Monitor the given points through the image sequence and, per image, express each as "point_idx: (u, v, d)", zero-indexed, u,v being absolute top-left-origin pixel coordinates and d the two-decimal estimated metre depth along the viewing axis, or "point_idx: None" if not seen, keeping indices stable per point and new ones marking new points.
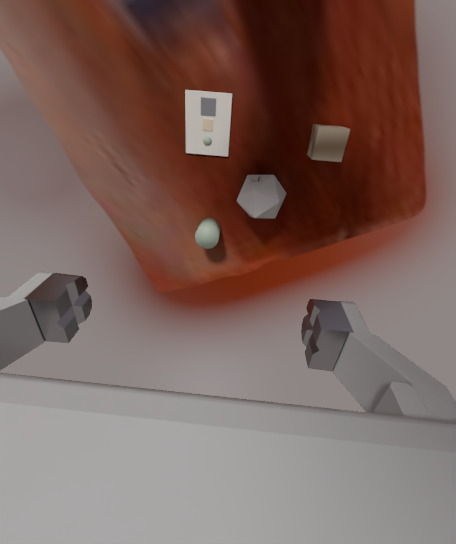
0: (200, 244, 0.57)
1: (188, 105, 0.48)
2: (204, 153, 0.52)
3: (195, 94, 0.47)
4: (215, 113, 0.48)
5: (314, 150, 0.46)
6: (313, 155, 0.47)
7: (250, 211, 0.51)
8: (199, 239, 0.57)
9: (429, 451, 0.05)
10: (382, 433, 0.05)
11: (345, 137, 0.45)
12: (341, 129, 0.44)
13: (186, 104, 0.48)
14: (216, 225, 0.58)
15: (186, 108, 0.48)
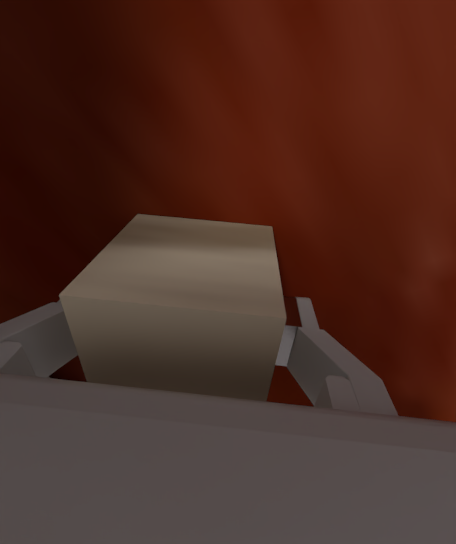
0: None
1: None
2: None
3: None
4: None
5: None
6: None
7: None
8: None
9: (429, 451, 0.05)
10: (382, 433, 0.05)
11: (260, 355, 0.07)
12: (223, 316, 0.06)
13: None
14: None
15: None
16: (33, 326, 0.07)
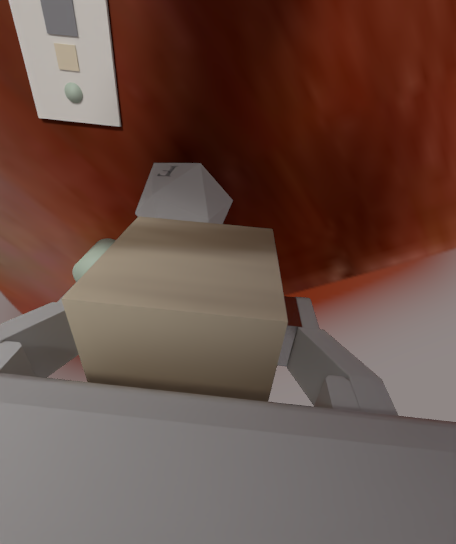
0: None
1: (17, 11, 0.23)
2: (73, 119, 0.27)
3: None
4: (77, 29, 0.23)
5: None
6: None
7: None
8: None
9: (429, 451, 0.05)
10: (382, 433, 0.05)
11: (261, 358, 0.07)
12: (225, 320, 0.06)
13: (13, 8, 0.23)
14: None
15: (15, 18, 0.23)
16: (33, 326, 0.07)
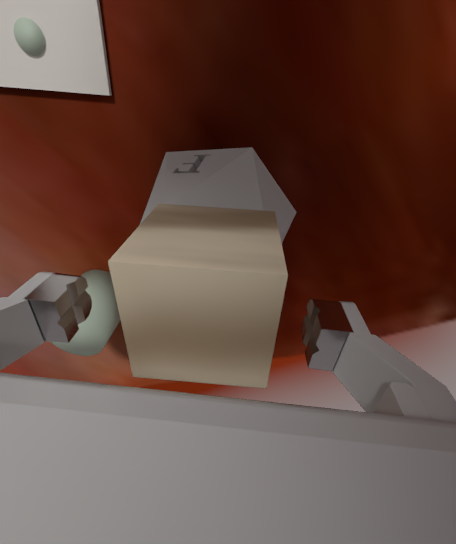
0: (67, 348, 0.22)
1: None
2: (33, 85, 0.16)
3: None
4: None
5: (131, 349, 0.10)
6: (135, 364, 0.10)
7: None
8: None
9: (429, 451, 0.05)
10: (382, 433, 0.05)
11: (267, 308, 0.08)
12: (238, 275, 0.08)
13: None
14: (101, 292, 0.21)
15: None
16: None
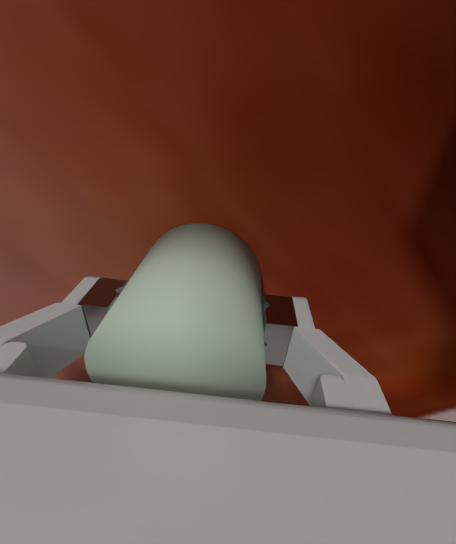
0: None
1: None
2: None
3: None
4: None
5: None
6: None
7: None
8: None
9: (429, 451, 0.05)
10: (382, 433, 0.05)
11: None
12: None
13: None
14: (217, 259, 0.08)
15: None
16: (38, 327, 0.07)
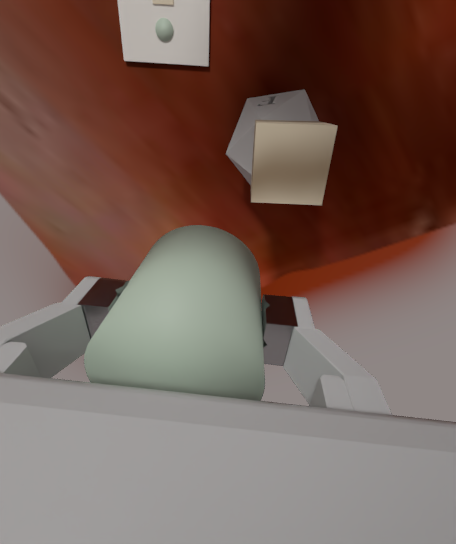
0: None
1: None
2: (160, 60, 0.26)
3: None
4: None
5: (254, 181, 0.19)
6: (253, 193, 0.20)
7: None
8: None
9: (429, 451, 0.05)
10: (382, 433, 0.05)
11: (327, 147, 0.18)
12: (314, 127, 0.17)
13: None
14: (216, 261, 0.08)
15: None
16: (38, 327, 0.07)
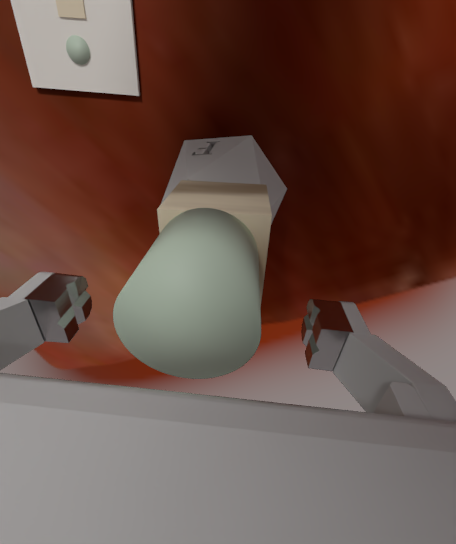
0: (174, 369, 0.10)
1: None
2: (78, 87, 0.20)
3: None
4: None
5: None
6: None
7: None
8: (153, 347, 0.10)
9: (429, 451, 0.05)
10: (382, 433, 0.05)
11: (259, 241, 0.13)
12: (240, 217, 0.12)
13: None
14: (221, 234, 0.10)
15: None
16: None
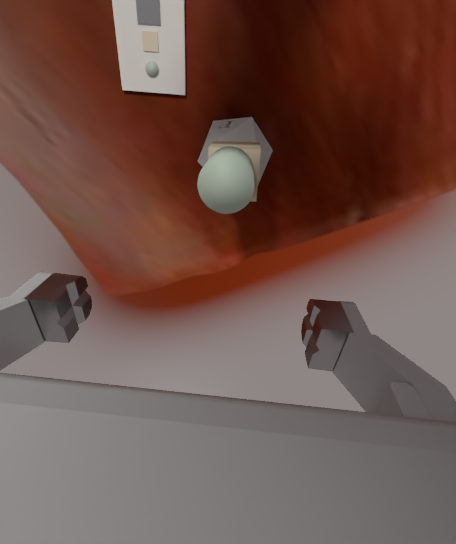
0: (219, 208, 0.24)
1: (117, 7, 0.31)
2: (149, 90, 0.35)
3: None
4: (160, 19, 0.31)
5: None
6: None
7: None
8: (211, 196, 0.24)
9: (429, 451, 0.05)
10: (382, 433, 0.05)
11: (255, 163, 0.27)
12: (246, 150, 0.26)
13: (114, 5, 0.31)
14: (238, 152, 0.24)
15: (114, 12, 0.31)
16: None
